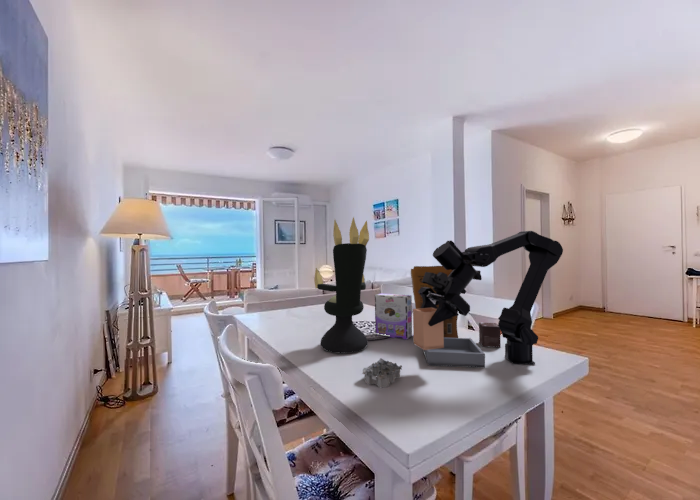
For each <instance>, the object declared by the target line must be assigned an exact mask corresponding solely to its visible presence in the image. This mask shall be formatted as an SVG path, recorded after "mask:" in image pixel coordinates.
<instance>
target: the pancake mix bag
mask: <svg viewBox="0 0 700 500" xmlns="http://www.w3.org/2000/svg"><path fill="white" fill-rule="evenodd" d="M452 271H453V270H446V269H445V268H444V267H443V266H442V265H432V266H430V265H429V266H427V265H426V266H425V265H422V266H421V265H420V266H418V265H415V266H413V267H412V268H410V278H411V284H412V294H413V300H414V306H415V309H417V308H421V306H422V303H423V299H422V297H421V295H420V294H419V293H418V291H419V290H420V288H421V287H428V288H431V289H432V288H433V286H430V285H428V284H426V283H425V284H424V283H422V280H423V277H424V275H425V272H430V273H435V274H438V273H439V272H442V273H445V274H447V277H448V276H449V274H450V273H451V272H452ZM432 290H433V289H432ZM433 291H434V290H433ZM434 292H435V293H436V291H434ZM436 306H437V307H439V304H438V305H436ZM457 313H458V314H459V311H458V312H457ZM458 316H459V315H458ZM458 316H454V317H451V318H449V319H446V320H444V321H443V329H444V338H459V333H458V318H459V317H458Z"/></svg>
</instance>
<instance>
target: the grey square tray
mask: <svg viewBox="0 0 700 500" xmlns="http://www.w3.org/2000/svg"><path fill="white" fill-rule="evenodd" d="M422 351H423V352H424V356H425V360H426V363H427V366H432V367H434V366H435V367H455V368H457V367H461V368H479V369H480V368H482V369H483V368H484V369H485V368H486V354H485V352H484V351H483V350H482V349H481V347H479V345H478V344H477V342H475V341H474V340H473V338H471V337H470V338H468V337H458V338H444V348H438V349H430V350H423V349H422Z"/></svg>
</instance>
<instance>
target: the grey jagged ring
mask: <svg viewBox="0 0 700 500" xmlns="http://www.w3.org/2000/svg"><path fill="white" fill-rule="evenodd" d="M402 368H403V366H402V365H397V363H396V362H395V363H394V362H392V361H389V360H385V359H383V358H379V360H377V361H376V362H373V363H372V364H371V365H368V366H367V367H363V369H362V374H363V375H364V382H366V385H372V384H373V385H377V388H380V389H381V388H388V387H389V386H390V383H394V382H395V379H397V378H399V379H400V378H401V371H402V370H403V369H402ZM380 372H381V375H380Z"/></svg>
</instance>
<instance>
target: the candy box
mask: <svg viewBox="0 0 700 500" xmlns="http://www.w3.org/2000/svg"><path fill="white" fill-rule="evenodd" d="M412 300H413V299H412V295H410V294H397V293H381V292H380V293H378V294H377V293H376V294H375V295H374V320H375V321H374V322H375V323H374V325H375V329H374V330H375V331H374V333H379V334H386V335H390V337H389V338H393V339H400V340H406V341H407V340H409V339H411V338H412V337H413V309H412V308H413V307H412V305H413V304H412V302H413V301H412Z"/></svg>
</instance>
